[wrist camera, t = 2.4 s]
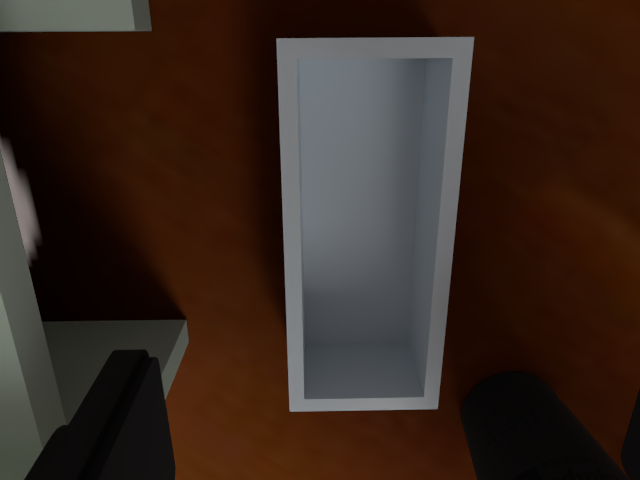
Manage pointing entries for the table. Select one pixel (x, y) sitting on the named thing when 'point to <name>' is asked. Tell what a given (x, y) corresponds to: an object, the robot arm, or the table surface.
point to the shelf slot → (19, 297)
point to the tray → (369, 215)
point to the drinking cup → (529, 434)
